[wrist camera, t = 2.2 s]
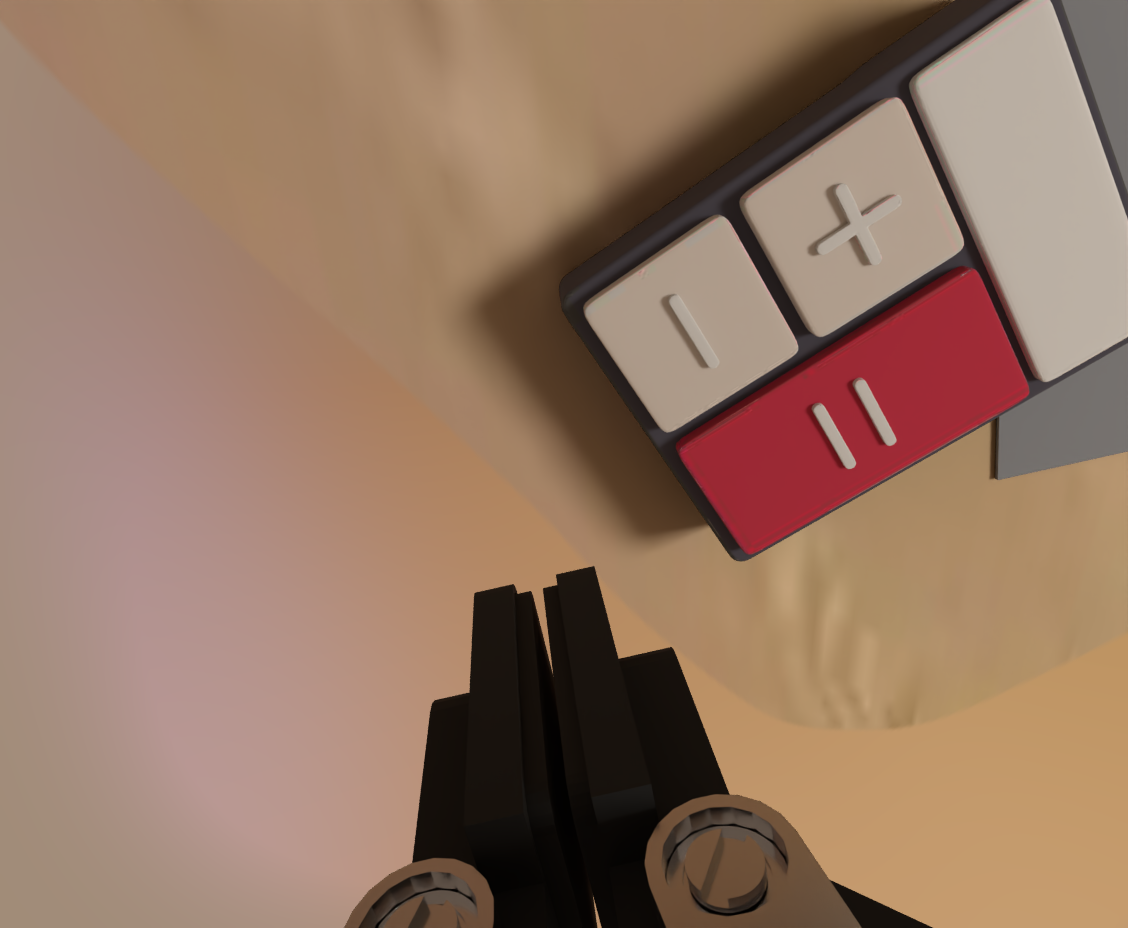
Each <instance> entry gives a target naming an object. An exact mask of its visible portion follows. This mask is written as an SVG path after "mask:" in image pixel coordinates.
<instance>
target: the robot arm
mask: <svg viewBox="0 0 1128 928" xmlns="http://www.w3.org/2000/svg"><path fill="white" fill-rule="evenodd" d="M556 578H557V585H556V586H552V587H547V588H543V593H544V602H545V610H546V618H547V627H548V635H549V643H550V651H551V660H552V668H553V673H552V669H551V665H550V661H549V658H548V654H547V650H546V646H545V642H544V638H543V634H542V630H541V626H540V622H539V618H538V614H537V610H536V606H535V602H534V598H533V595H532V592H531V591H529V592H524V593H520V594H517V591H516V588H515V586H514V584H512V585H508V586H503V587H499V588H494V589H490V590H485V591H481V592H476V593H475V594H474V608H473V609H474V611H473V630H472V651H471V674H470V693H466V694H461V695H457V696H452V697H447V698H443V699H439V700H435V701H434V702H433V703H432V706H431V711H430V718H429V726H428V735H427V744H426V751H425V760H424V769H423V777H422V785H421V794H420V803H419V811H418V819H417V828H416V836H415V844H414V853H413V861H412V863H411V864H409V865H407V866H405V867H403V868H401V869H399V870H397V871H395V872H393V873H391V874H389V875H388V876H387V877H385V878H384V879H383V880H382V881H380V882H379V883H378V884H377V885H375V886H374V887H373V888H372V889H370V890H369V891H368V893H367V894H366V895H365V896H364V897H363V899H362V900H361V901H360V902H359V904H358V905H357V906H356V907H355V909H354V910H353V911H352V913H351V915H350V917H349V919H348V921H347V923H346V925H345V927H344V928H597V922H596V914H595V907H594V900H595V904H596V908H597V911H598V915H599V919H600V923H601V926H602V928H932V927H930V926H928V925H926V924H924V923H922V922H919V921H917V920H915V919H913V918H911V917H909V916H906V915H904V914H902V913H900V912H898V911H896V910H893V909H891V908H889V907H887V906H885V905H883V904H881V903H878V902H876V901H874V900H872V899H870V898H868V897H865V896H863V895H861V894H859V893H857V892H855V891H853V890H851V889H848V888H846V887H844V886H842V885H840V884H838V883H835V882H833V881H831V880H829V879H828V877H827V875H826V874H825V872H824V871H823V870H822V868H821V867H820V865H819V864H818V862H817V861H816V859H815V858H814V856H813V855H812V853H811V852H810V850H809V849H808V847H807V846H806V844H805V843H804V841H803V840H802V838H801V837H800V835H799V834H798V832H797V831H796V830H795V829H794V828H793V827H792V825H791V824H790V823H789V822H788V821H787V820H786V819H785V818H784V817H783V816H782V815H781V814H780V813H779V812H777V811H776V810H774V809H772V808H771V807H769V806H767V805H766V804H764V803H762V802H761V801H757V800H753V799H750V798H747V797H743V796H740V795H730V794H729V792H728V789H727V787H726V784H725V782H724V779H723V776H722V774H721V771H720V768H719V766H718V763H717V761H716V758H715V755H714V753H713V750H712V748H711V745H710V742H709V740H708V737H707V735H706V732H705V729H704V727H703V724H702V722H701V719H700V716H699V714H698V711H697V709H696V706H695V704H694V701H693V698H692V695H691V693H690V690H689V688H688V685H687V682H686V680H685V677H684V675H683V672H682V669H681V667H680V664H679V662H678V659H677V656H676V654H675V652H674V649H673V648H672V647H670V648H665V649H661V650H656V651H652V652H647V653H643V654H638V655H634V656H630V657H625V658H621V659H618V655H617V652H616V648H615V644H614V640H613V636H612V632H611V628H610V624H609V621H608V617H607V613H606V609H605V605H604V601H603V598H602V594H601V590H600V586H599V582H598V578H597V575H596V571H595V567H594V566H592V567H588V568H583V569H579V570H575V571H570V572H566V573H561V574H557V575H556ZM553 676H554V677H553ZM593 897H594V900H593Z"/></svg>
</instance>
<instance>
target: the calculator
mask: <svg viewBox="0 0 1128 928" xmlns="http://www.w3.org/2000/svg"><path fill="white" fill-rule="evenodd" d="M559 292H560V300H561V307H562V310H563V312H564V314H565V316H566V317H567V319H568V321H569V322H570V323H571V325H572V326H573V328H574V329H575V331H576V332H577V334H578V335H579V337H580V338H581V339H582V341H583V342H584V344H585V345H586V347H587V348H588V350H589V351H590V353H591V354H592V356H593V357H594V358H595V360H596V361H597V363H598V364H599V366H600V367H601V369H602V370H603V372H604V373H605V375H606V376H607V377H608V379H609V380H610V382H611V383H612V385H613V386H614V388H615V389H616V391H617V392H618V393H619V395H620V396H621V398H622V399H623V401H624V402H625V404H626V405H627V407H628V408H629V410H630V411H631V412H632V414H633V415H634V417H635V418H636V420H637V421H638V423H639V424H640V426H641V427H642V429H643V430H644V431H645V433H646V434H647V436H648V437H649V439H650V440H651V442H652V443H653V445H654V446H655V447H656V449H657V450H658V452H659V453H660V455H661V456H662V458H663V459H664V461H665V462H666V464H667V465H668V466H669V468H670V469H671V471H672V472H673V474H674V475H675V477H676V478H677V480H678V481H679V483H680V484H681V485H682V487H683V488H684V490H685V491H686V493H687V494H688V496H689V497H690V499H691V500H692V501H693V503H694V504H695V506H696V507H697V509H698V510H699V512H700V513H701V515H702V516H703V518H704V519H705V520H706V522H707V523H708V525H709V526H710V528H711V529H712V531H713V532H714V534H715V535H716V537H717V538H718V539H719V541H720V542H721V544H722V545H723V547H724V548H725V550H726V551H727V552H728V554H729V555H730V556H731V557H732V558H733V559H734V560H736V561H746V560H749V559H751V558H752V557H754V556H756V555H758V554H760V553H761V552H763V551H765V550H767V549H768V548H770V547H772V546H774V545H775V544H777V543H779V542H781V541H782V540H784V539H786V538H788V537H789V536H791V535H793V534H795V533H796V532H798V531H800V530H802V529H803V528H805V527H807V526H809V525H810V524H812V523H814V522H816V521H817V520H819V519H821V518H823V517H824V516H826V515H828V514H830V513H831V512H833V511H835V510H837V509H838V508H840V507H842V506H844V505H845V504H847V503H849V502H851V501H852V500H854V499H856V498H858V497H859V496H861V495H863V494H865V493H866V492H868V491H870V490H872V489H873V488H875V487H877V486H879V485H880V484H882V483H884V482H886V481H887V480H889V479H891V478H893V477H894V476H896V475H898V474H900V473H901V472H903V471H905V470H907V469H908V468H910V467H912V466H914V465H915V464H917V463H919V462H921V461H922V460H924V459H926V458H928V457H929V456H931V455H933V454H935V453H936V452H938V451H940V450H942V449H943V448H945V447H947V446H949V445H950V444H952V443H954V442H956V441H957V440H959V439H961V438H963V437H964V436H966V435H968V434H970V433H971V432H973V431H975V430H977V429H978V428H980V427H982V426H984V425H985V424H987V423H989V422H991V421H992V420H994V419H996V418H998V417H999V416H1001V415H1003V414H1005V413H1006V412H1008V411H1010V410H1012V409H1013V408H1015V407H1017V406H1019V405H1020V404H1022V403H1024V402H1026V401H1027V400H1029V399H1031V398H1033V397H1034V396H1036V395H1038V394H1040V393H1041V392H1043V391H1045V390H1047V389H1048V388H1050V387H1052V386H1054V385H1055V384H1057V383H1059V382H1061V381H1062V380H1064V379H1066V378H1068V377H1069V376H1071V375H1073V374H1075V373H1076V372H1078V371H1080V370H1082V369H1083V368H1085V367H1087V366H1089V365H1090V364H1092V363H1094V362H1096V361H1097V360H1099V359H1101V358H1103V357H1104V356H1106V355H1108V354H1110V353H1111V352H1113V351H1115V350H1117V349H1118V348H1120V347H1122V346H1124V345H1125V344H1127V343H1128V192H1127V189H1126V186H1125V183H1124V180H1123V177H1122V175H1121V172H1120V169H1119V166H1118V163H1117V160H1116V157H1115V154H1114V151H1113V148H1112V145H1111V143H1110V140H1109V137H1108V134H1107V131H1106V128H1105V125H1104V122H1103V119H1102V116H1101V113H1100V111H1099V108H1098V105H1097V102H1096V99H1095V96H1094V93H1093V90H1092V87H1091V84H1090V81H1089V79H1088V76H1087V73H1086V70H1085V67H1084V64H1083V61H1082V58H1081V55H1080V52H1079V49H1078V47H1077V44H1076V41H1075V38H1074V35H1073V32H1072V29H1071V26H1070V23H1069V20H1068V18H1067V15H1066V12H1065V9H1064V6H1063V3H1062V0H955V1H953V2H952V3H951V4H949V5H948V6H946V7H945V8H943V9H942V10H940V11H939V12H938V13H936V14H935V15H933V16H932V17H930V18H929V19H928V20H926V21H925V22H923V23H922V24H920V25H919V26H918V27H916V28H915V29H913V30H912V31H910V32H909V33H908V34H906V35H905V36H903V37H902V38H900V39H899V40H898V41H896V42H895V43H893V44H892V45H890V46H889V47H888V48H886V49H885V50H883V51H882V52H880V53H879V54H878V55H876V56H875V57H873V58H872V59H870V60H869V61H868V62H866V63H865V64H863V65H862V66H861V67H860V68H858V69H857V70H856V71H855V72H854V73H853V74H852V75H850V76H849V77H848V78H847V79H846V80H845V81H843V82H842V83H841V84H840V85H838V86H837V87H836V88H834V89H833V90H831V91H830V92H828V93H827V94H826V95H824V96H823V97H821V98H820V99H818V100H817V101H816V102H814V103H813V104H811V105H810V106H808V107H807V108H805V109H804V110H803V111H801V112H800V113H798V114H797V115H795V116H794V117H793V118H791V119H790V120H788V121H787V122H785V123H784V124H783V125H781V126H780V127H778V128H777V129H775V130H774V131H772V132H771V133H770V134H768V135H767V136H765V137H764V138H762V139H761V140H760V141H758V142H757V143H755V144H754V145H752V146H751V147H750V148H748V149H747V150H745V151H744V152H742V153H741V154H739V155H738V156H737V157H735V158H734V159H732V160H731V161H729V162H728V163H727V164H725V165H724V166H722V167H721V168H719V169H718V170H717V171H715V172H714V173H712V174H711V175H709V176H708V177H706V178H705V179H704V180H702V181H701V182H699V183H698V184H696V185H695V186H694V187H692V188H691V189H689V190H688V191H686V192H685V193H683V194H682V195H681V196H679V197H678V198H676V199H675V200H673V201H672V202H671V203H669V204H668V205H666V206H665V207H663V208H662V209H661V210H659V211H658V212H656V213H655V214H653V215H652V216H650V217H649V218H648V219H646V220H645V221H643V222H642V223H640V224H639V225H638V226H636V227H635V228H633V229H632V230H630V231H629V232H628V233H626V234H625V235H623V236H622V237H620V238H619V239H617V240H616V241H615V242H613V243H612V244H610V245H609V246H607V247H606V248H605V249H603V250H602V251H600V252H599V253H597V254H596V255H595V256H593V257H592V258H590V259H589V260H587V261H586V262H584V263H583V264H582V265H580V266H579V267H577V268H576V269H574V270H573V271H572V272H570V273H569V274H567V275H566V276H565V277H564V278H563V279H562V280H561V282H560V286H559Z"/></svg>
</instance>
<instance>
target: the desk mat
mask: <svg viewBox="0 0 1128 928" xmlns="http://www.w3.org/2000/svg"><path fill="white" fill-rule="evenodd" d="M1062 3H1063V6H1064V9H1065V12H1066V15H1067V18H1068V20H1069V23H1070V26H1071V29H1072V32H1073V35H1074V38H1075V41H1076V44H1077V47H1078V49H1079V52H1080V55H1081V58H1082V61H1083V64H1084V67H1085V70H1086V73H1087V76H1088V79H1089V81H1090V84H1091V87H1092V90H1093V93H1094V96H1095V99H1096V102H1097V105H1098V108H1099V111H1100V113H1101V116H1102V119H1103V122H1104V125H1105V128H1106V131H1107V134H1108V137H1109V140H1110V143H1111V145H1112V148H1113V151H1114V154H1115V157H1116V160H1117V163H1118V166H1119V169H1120V172H1121V175H1122V177H1123V180H1124V183H1125V186H1126V189H1127V192H1128V0H1062ZM1127 451H1128V343H1127V344H1125V345H1124V346H1122V347H1120V348H1118V349H1117V350H1115V351H1113V352H1111V353H1110V354H1108V355H1106V356H1104V357H1103V358H1101V359H1099V360H1097V361H1096V362H1094V363H1092V364H1090V365H1089V366H1087V367H1085V368H1083V369H1082V370H1080V371H1078V372H1076V373H1075V374H1073V375H1071V376H1069V377H1068V378H1066V379H1064V380H1062V381H1061V382H1059V383H1057V384H1055V385H1054V386H1052V387H1050V388H1048V389H1047V390H1045V391H1043V392H1041V393H1040V394H1038V395H1036V396H1034V397H1033V398H1031V399H1029V400H1027V401H1026V402H1024V403H1022V404H1020V405H1019V406H1017V407H1015V408H1013V409H1012V410H1010V411H1008V412H1006V413H1005V414H1003V415H1001V416H999V417H998V418H997V428H996V473H995V479H997V480H1001V479H1005V478H1010V477H1014V476H1019V475H1023V474H1028V473H1032V472H1037V471H1041V470H1046V469H1050V468H1055V467H1059V466H1064V465H1068V464H1073V463H1077V462H1082V461H1087V460H1091V459H1096V458H1100V457H1105V456H1109V455H1114V454H1118V453H1123V452H1127Z"/></svg>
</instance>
